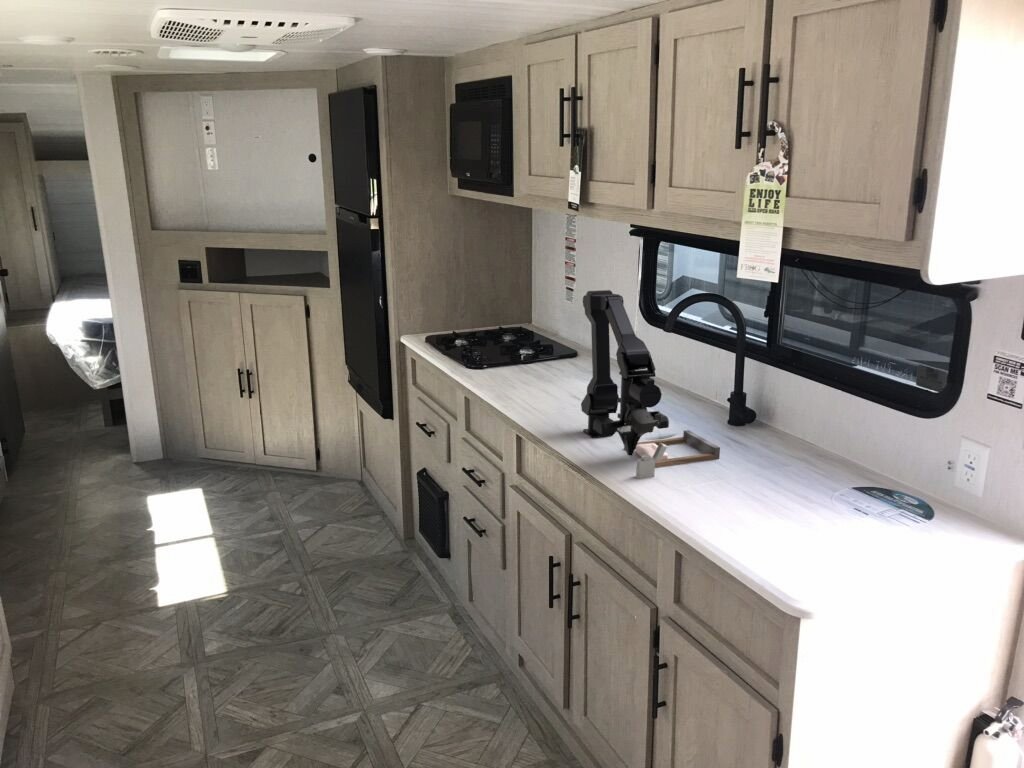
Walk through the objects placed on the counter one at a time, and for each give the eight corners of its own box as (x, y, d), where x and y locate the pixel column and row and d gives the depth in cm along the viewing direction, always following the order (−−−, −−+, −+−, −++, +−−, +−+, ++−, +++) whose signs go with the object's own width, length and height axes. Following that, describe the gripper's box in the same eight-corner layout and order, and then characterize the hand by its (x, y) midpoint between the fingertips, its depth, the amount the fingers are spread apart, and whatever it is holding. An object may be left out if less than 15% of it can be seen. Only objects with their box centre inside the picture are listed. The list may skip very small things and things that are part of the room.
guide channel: (624, 448, 226) (624, 437, 225) (687, 440, 232) (688, 430, 232) (652, 467, 212) (653, 456, 212) (719, 458, 219) (720, 447, 218)
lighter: (638, 478, 205) (640, 447, 203) (635, 476, 207) (637, 444, 205) (665, 475, 208) (667, 444, 205) (662, 473, 209) (664, 441, 207)
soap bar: (654, 451, 225) (654, 442, 225) (668, 462, 217) (669, 453, 216) (635, 452, 224) (635, 443, 224) (648, 464, 216) (649, 455, 215)
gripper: (613, 408, 204) (610, 470, 208) (681, 401, 210) (678, 461, 214) (592, 396, 214) (591, 455, 218) (659, 389, 220) (656, 447, 224)
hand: (629, 455), depth 218 cm, fingers closed
